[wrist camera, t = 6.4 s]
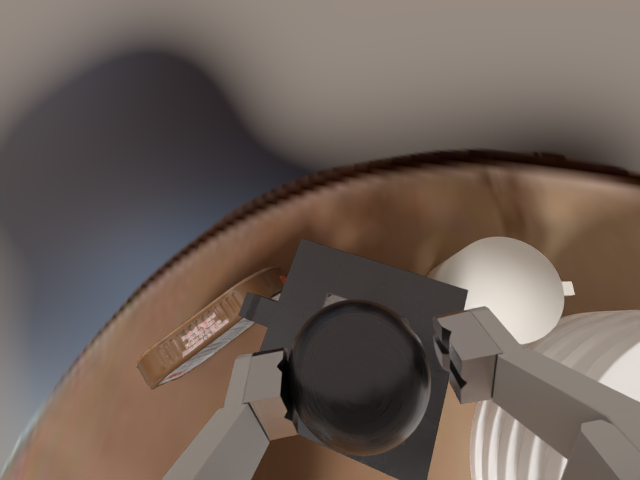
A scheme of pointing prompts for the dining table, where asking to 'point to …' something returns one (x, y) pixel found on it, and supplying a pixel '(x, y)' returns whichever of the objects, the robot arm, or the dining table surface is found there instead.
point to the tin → (207, 330)
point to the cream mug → (508, 284)
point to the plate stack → (578, 354)
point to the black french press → (377, 286)
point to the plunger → (359, 377)
